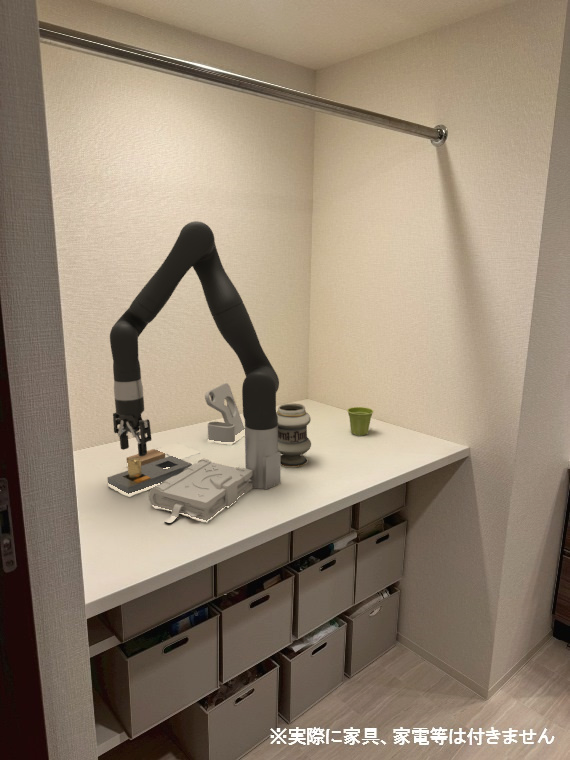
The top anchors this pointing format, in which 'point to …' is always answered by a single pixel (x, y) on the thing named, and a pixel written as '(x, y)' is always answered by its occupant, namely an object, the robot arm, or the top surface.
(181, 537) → the top surface
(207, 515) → the book
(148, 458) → the block
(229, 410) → the phone holder
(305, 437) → the apothecary jar
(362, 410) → the plant pot
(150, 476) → the grey peg board
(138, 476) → the brass peg
